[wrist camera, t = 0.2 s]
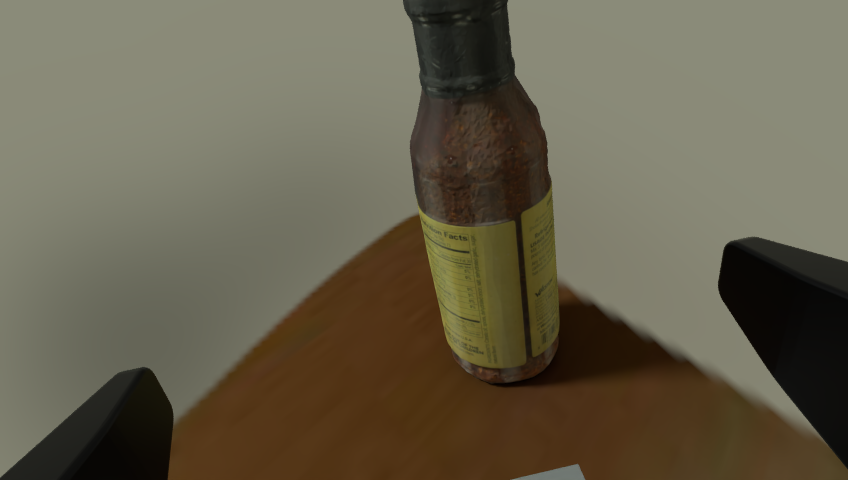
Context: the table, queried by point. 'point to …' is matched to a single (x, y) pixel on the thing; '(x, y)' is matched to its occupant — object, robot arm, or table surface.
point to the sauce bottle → (483, 192)
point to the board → (557, 474)
